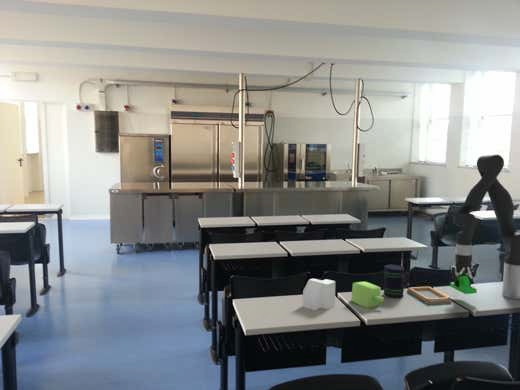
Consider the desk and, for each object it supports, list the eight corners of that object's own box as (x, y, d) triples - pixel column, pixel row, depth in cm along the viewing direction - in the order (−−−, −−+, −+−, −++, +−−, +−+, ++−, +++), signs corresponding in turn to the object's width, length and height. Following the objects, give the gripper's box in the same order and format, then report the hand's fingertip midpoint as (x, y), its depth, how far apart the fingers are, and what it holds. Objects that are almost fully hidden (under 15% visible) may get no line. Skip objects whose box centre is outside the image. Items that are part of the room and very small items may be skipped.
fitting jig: (427, 290, 224) (427, 285, 224) (451, 303, 204) (451, 298, 204) (407, 291, 222) (407, 287, 221) (429, 305, 202) (429, 300, 202)
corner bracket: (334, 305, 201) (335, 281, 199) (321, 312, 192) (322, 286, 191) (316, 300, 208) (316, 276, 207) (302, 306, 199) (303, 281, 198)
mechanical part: (476, 293, 203) (476, 277, 203) (465, 294, 202) (465, 278, 202) (460, 285, 215) (461, 270, 214) (450, 286, 214) (450, 271, 213)
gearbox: (389, 308, 198) (390, 289, 198) (374, 311, 193) (375, 291, 193) (361, 296, 214) (363, 278, 213) (347, 299, 209) (348, 280, 208)
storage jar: (382, 297, 213) (383, 268, 211) (383, 291, 222) (384, 263, 221) (403, 299, 210) (404, 270, 208) (403, 293, 219) (404, 265, 217)
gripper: (471, 250, 212) (470, 282, 214) (445, 252, 209) (445, 284, 211) (481, 253, 205) (480, 287, 207) (455, 255, 202) (454, 289, 204)
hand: (462, 285), depth 209 cm, fingers closed on mechanical part, 6 cm apart
